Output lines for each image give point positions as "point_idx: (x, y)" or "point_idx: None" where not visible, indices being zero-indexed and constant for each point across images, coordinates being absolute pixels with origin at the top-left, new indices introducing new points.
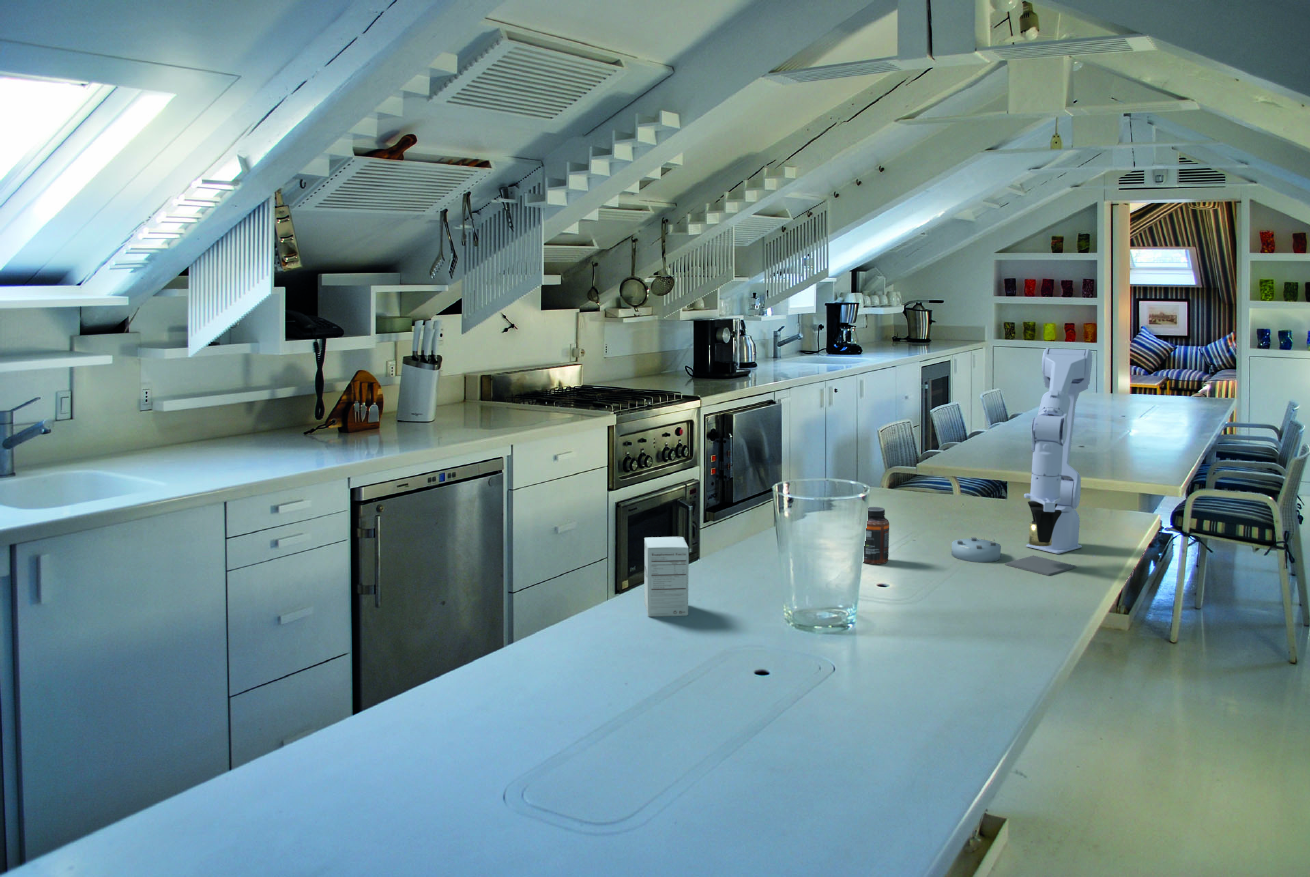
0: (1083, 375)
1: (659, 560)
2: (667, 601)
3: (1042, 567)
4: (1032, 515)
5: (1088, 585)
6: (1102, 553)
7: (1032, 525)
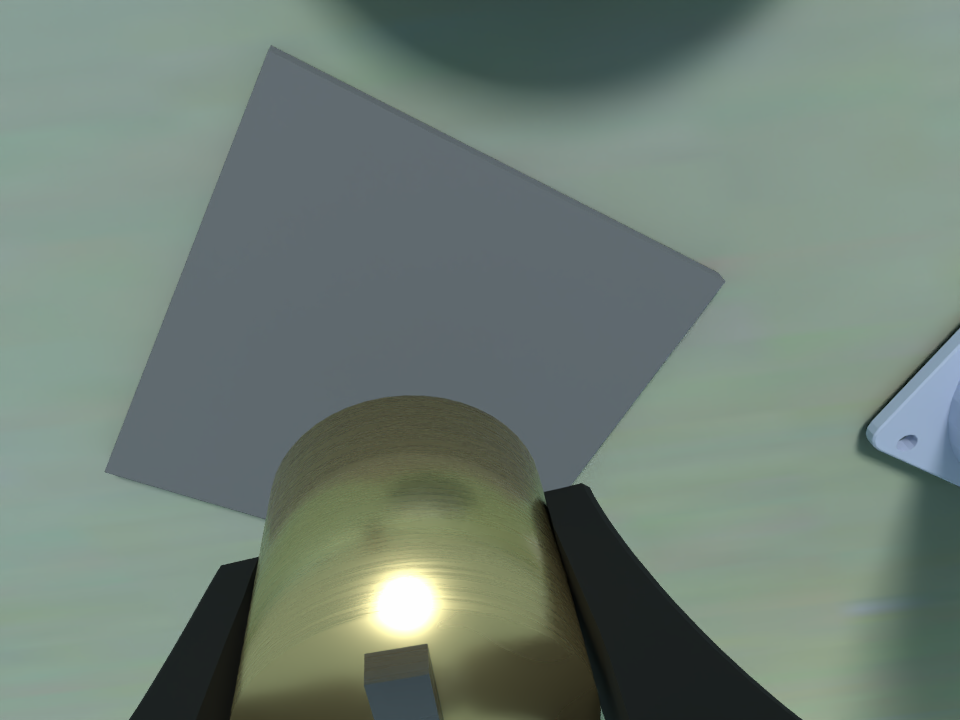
0: None
1: None
2: None
3: (299, 404)
4: (698, 690)
5: (41, 681)
6: (947, 632)
7: (254, 670)
